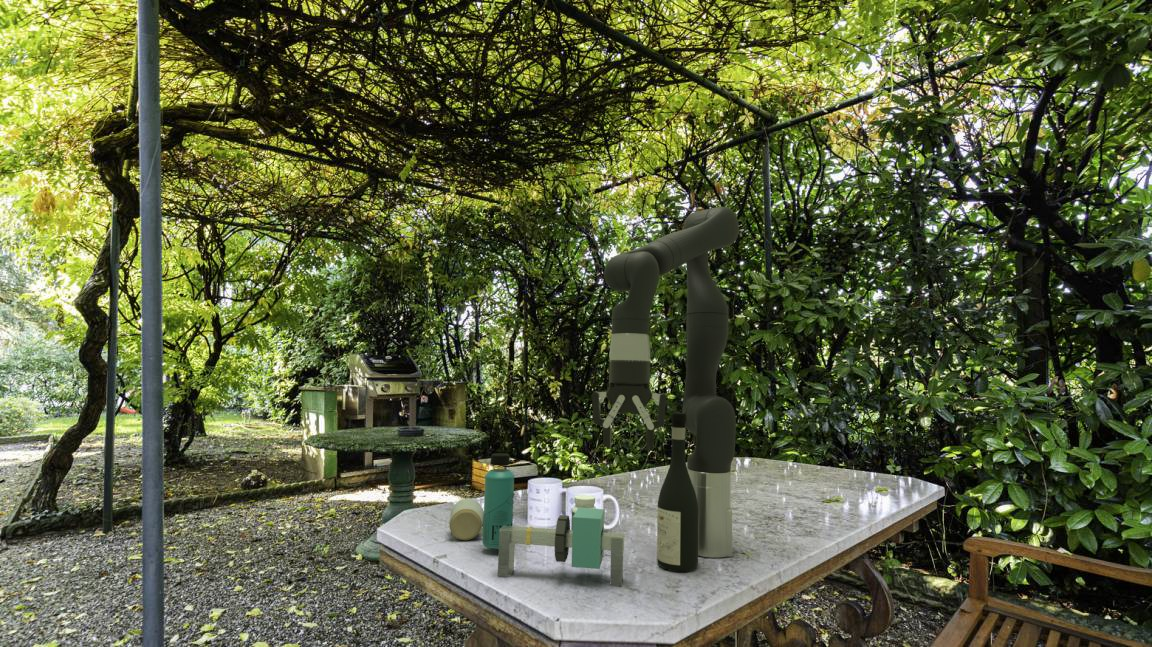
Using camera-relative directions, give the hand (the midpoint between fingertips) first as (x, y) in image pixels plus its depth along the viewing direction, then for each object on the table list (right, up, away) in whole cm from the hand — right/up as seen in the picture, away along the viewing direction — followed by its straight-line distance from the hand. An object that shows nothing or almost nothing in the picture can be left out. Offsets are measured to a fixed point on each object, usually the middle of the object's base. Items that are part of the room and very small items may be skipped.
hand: (628, 449), depth 103 cm
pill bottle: (-8, -26, +21) cm, 34 cm away
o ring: (-12, -20, 0) cm, 24 cm away
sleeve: (-7, -20, -1) cm, 22 cm away
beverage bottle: (-26, -25, +14) cm, 38 cm away
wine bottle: (+10, -25, +7) cm, 28 cm away
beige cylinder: (-33, -25, +24) cm, 48 cm away
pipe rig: (-12, -23, 0) cm, 27 cm away
